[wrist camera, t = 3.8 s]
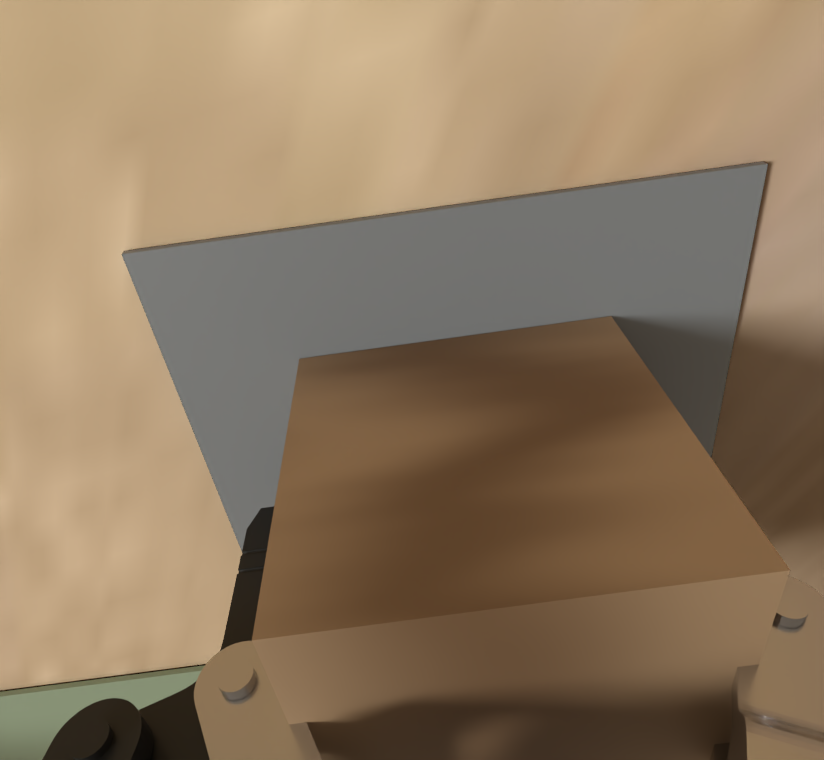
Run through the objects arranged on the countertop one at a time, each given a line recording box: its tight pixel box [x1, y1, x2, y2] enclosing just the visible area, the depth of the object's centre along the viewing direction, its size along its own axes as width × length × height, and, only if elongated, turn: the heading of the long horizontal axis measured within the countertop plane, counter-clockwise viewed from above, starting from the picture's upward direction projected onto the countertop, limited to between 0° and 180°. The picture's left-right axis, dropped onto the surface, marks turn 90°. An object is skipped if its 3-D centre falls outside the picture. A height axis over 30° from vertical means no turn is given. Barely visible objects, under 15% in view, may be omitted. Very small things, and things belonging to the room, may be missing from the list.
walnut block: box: [252, 316, 790, 760], centre depth 11 cm, size 6×6×6 cm
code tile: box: [122, 162, 768, 550], centre depth 14 cm, size 11×11×1 cm
